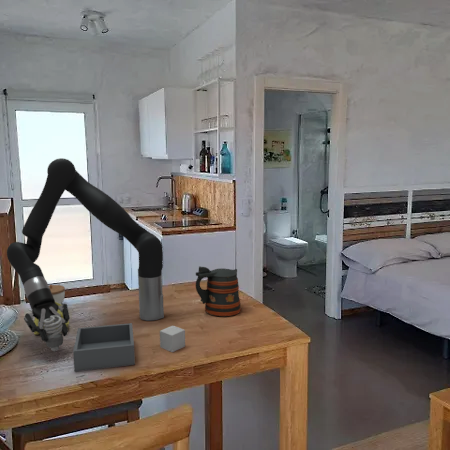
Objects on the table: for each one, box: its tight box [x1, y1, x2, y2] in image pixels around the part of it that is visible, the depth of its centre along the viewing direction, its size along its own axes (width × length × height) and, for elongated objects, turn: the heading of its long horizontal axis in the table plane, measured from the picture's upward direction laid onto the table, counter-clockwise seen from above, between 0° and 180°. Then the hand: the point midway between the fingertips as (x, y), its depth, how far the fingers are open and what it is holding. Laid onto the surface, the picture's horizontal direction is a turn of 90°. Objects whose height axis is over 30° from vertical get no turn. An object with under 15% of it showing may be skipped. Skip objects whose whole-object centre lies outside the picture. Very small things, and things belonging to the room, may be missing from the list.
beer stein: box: [195, 266, 242, 317], centre depth 184 cm, size 19×15×20 cm
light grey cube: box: [159, 325, 186, 353], centre depth 154 cm, size 6×6×6 cm
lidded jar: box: [48, 284, 66, 305], centre depth 192 cm, size 11×11×9 cm
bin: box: [72, 322, 136, 372], centre depth 148 cm, size 18×18×6 cm
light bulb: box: [44, 315, 64, 352], centre depth 146 cm, size 6×6×12 cm
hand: (56, 337), depth 145 cm, fingers closed on light bulb, 5 cm apart
